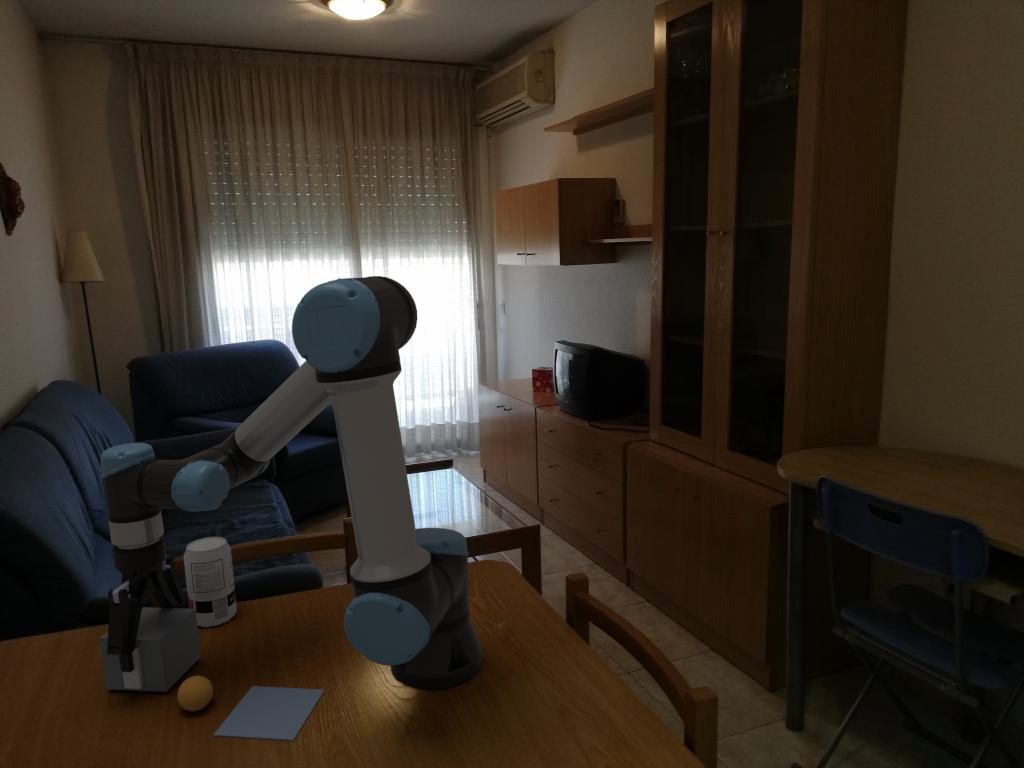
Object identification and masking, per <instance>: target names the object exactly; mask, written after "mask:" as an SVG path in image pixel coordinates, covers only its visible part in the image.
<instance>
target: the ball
mask: <svg viewBox="0 0 1024 768" xmlns="http://www.w3.org/2000/svg"><path fill="white" fill-rule="evenodd" d="M213 694H214V687H213V684H212V682H211V680H210V679H208V677H206V676H203V675H193V676H190V677H188V678H187V679H185V680H184V681H183V682H182V683H181V684H180V686H179V688H178V690H177V697H176V698H177V701H178V704H179V706H180V707H181V708H182V709H184V710H185V711H188V712H197V711H201V710H203V709H204V708H205V707H207V706H208V704H210V701H211V700H212V698H213Z"/></svg>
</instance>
